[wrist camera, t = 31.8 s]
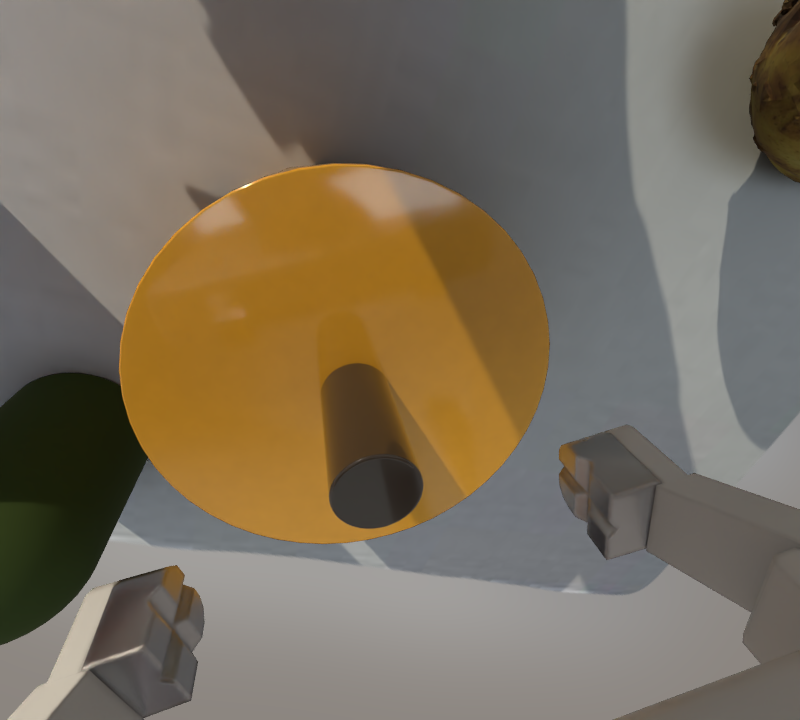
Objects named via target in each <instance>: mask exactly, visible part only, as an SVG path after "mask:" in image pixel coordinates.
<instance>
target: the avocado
mask: <svg viewBox="0 0 800 720" xmlns="http://www.w3.org/2000/svg"><path fill="white" fill-rule="evenodd" d="M147 458H148V456H147V455H146V453H145V452H144V450H143V449H142V447H141V445H140V443H139V441H138V439H137V437H136V435H135V433H134V431H133V428H132V426H131V424H130V422H129V418H128V415H127V411H126V408H125V405H124V401H123V398H122V390H121V386H120V385H118V384H116V383H114V382H112V381H110V380H107V379H104V378H101V377H97V376H93V375H88V374H81V373H62V374H55V375H49V376H45V377H42V378H39V379H37V380H35V381H32V382H30V383H29V384H27V385H26V386H24V387H23V388H22V389H21V390H19V391H18V392H17V393H16V394H15V395H14V396H13V397H11V398H10V399H9V400H8V401H7V402H6V403H5V404H4V405H3V406H1V407H0V645H2V644H5V643H8V642H10V641H12V640H15V639H17V638H19V637H21V636H24V635H26V634H28V633H29V632H31V631H33V630H35V629H36V628H38V627H39V626H41V625H43V624H44V623H46V622H47V621H49V620H50V619H51V618H53V617H54V616H55V615H56V614H58V613H59V612H60V611H61V610H63V608H65V607H66V606H67V605H68V604H69V603H70V602H71V601H72V600H73V599H74V598H75V597H76V596H77V595H78V593H79V592H80V591H81V589H82V588H83V586H84V585H85V584H86V583H87V581H88V580H89V578H90V577H91V575H92V573H93V571H94V570H95V568H96V566H97V564H98V561H99V559H100V557H101V555H102V553H103V551H104V549H105V547H106V545H107V542H108V540H109V538H110V536H111V534H112V532H113V530H114V528H115V526H116V524H117V521H118V519H119V517H120V515H121V513H122V511H123V509H124V507H125V505H126V503H127V500H128V498H129V496H130V494H131V492H132V490H133V488H134V486H135V484H136V482H137V479H138V477H139V475H140V473H141V471H142V469H143V467H144V465H145V463H146V460H147Z"/></svg>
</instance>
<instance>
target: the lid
mask: <svg viewBox="0 0 800 720" xmlns="http://www.w3.org/2000/svg"><path fill="white" fill-rule="evenodd" d="M549 346H550V342H549V328H548V319H547V314H546V310H545V305H544V300H543V296H542V294H541V291H540V288H539V286H538V283H537V280H536V278H535V275H534V273H533V271H532V269H531V267H530V266H529V264H528V262H527V260H526V259H525V257H524V255H523V253H522V251H521V250H520V249H519V248H518V246H517V245H516V244H515V242H514V241H513V240H512V239H511V237H510V236H509V235H508V233H507V232H506V231H505V230H504V229H503V228H502V227H501V226H500V225H499V224H498V223H497V222H496V221H495V220H494V219H493V218H492V217H490V216H489V215H488V214H487V213H486V212H485V211H484V210H483V209H481V208H480V207H478V206H477V205H475V204H474V203H473V202H471V201H470V200H468V199H467V198H465V197H464V196H462V195H461V194H459V193H457V192H455V191H453V190H451V189H449V188H447V187H445V186H443V185H441V184H439V183H437V182H435V181H433V180H430V179H427V178H424V177H421V176H418V175H415V174H412V173H408V172H405V171H402V170H399V169H394V168H388V167H382V166H376V165H370V164H353V163H329V164H320V165H312V166H303V167H297V168H293V169H290V170H286V171H282V172H278V173H275V174H271V175H267V176H264V177H262V178H260V179H257V180H255V181H253V182H250V183H248V184H246V185H243V186H241V187H239V188H236V189H234V190H232V191H231V192H229V193H228V194H226V195H224V196H223V197H221V198H220V199H218V200H216V201H215V202H213V203H211V204H210V205H208V206H207V207H205V208H204V209H202V210H201V211H200V212H199V213H198V214H196V215H195V216H194V217H193V218H192V219H191V220H189V221H188V222H187V223H186V224H185V225H184V226H182V227H181V228H180V229H179V230H178V231H177V232H176V233H175V234H174V235H173V236H172V237H171V238H170V240H169V241H168V242H167V243H166V244H165V245H164V247H163V248H162V249H161V250H160V251H159V252H158V254H157V255H156V256H155V257H154V259H153V260H152V262H151V264H150V265H149V267H148V269H147V270H146V272H145V274H144V275H143V277H142V278H141V280H140V282H139V283H138V285H137V288H136V290H135V293H134V295H133V298H132V300H131V303H130V305H129V308H128V310H127V313H126V317H125V322H124V327H123V331H122V336H121V340H120V358H119V374H120V382H121V390H122V398H123V401H124V405H125V408H126V411H127V415H128V418H129V422H130V424H131V426H132V428H133V431H134V433H135V435H136V437H137V439H138V441H139V443H140V445H141V447H142V449H143V450H144V452H145V453H146V455H147V456H148V458H149V459H150V461H151V462H152V464H153V465H154V467H155V468H156V469H157V470H158V471H159V472H160V473H161V474H162V476H163V477H164V478H165V479H166V480H167V481H168V482H169V483H170V484H171V486H173V487H174V488H175V489H176V490H177V491H178V492H180V493H181V494H182V495H183V496H184V497H185V498H187V499H188V500H189V501H190V502H192V503H193V504H195V505H196V506H198V507H199V508H201V509H202V510H204V511H205V512H207V513H208V514H210V515H212V516H214V517H216V518H218V519H220V520H222V521H224V522H226V523H228V524H230V525H232V526H235V527H237V528H240V529H243V530H245V531H248V532H251V533H254V534H257V535H261V536H265V537H269V538H273V539H277V540H284V541H291V542H298V543H315V544H332V543H348V542H356V541H363V540H369V539H374V538H378V537H382V536H386V535H390V534H394V533H397V532H400V531H403V530H405V529H408V528H411V527H414V526H416V525H418V524H421V523H423V522H425V521H428V520H430V519H432V518H434V517H436V516H438V515H439V514H441V513H443V512H445V511H447V510H448V509H450V508H452V507H453V506H455V505H456V504H458V503H459V502H461V501H462V500H464V499H465V498H466V497H468V496H469V495H471V494H472V493H473V492H474V491H475V490H477V489H478V488H479V487H480V486H481V485H483V484H484V483H485V482H486V481H487V480H488V479H489V478H490V477H491V476H492V475H493V474H494V473H495V472H496V471H497V470H498V469H499V468H500V467H501V466H502V465H503V463H504V462H505V461H506V460H507V458H508V457H509V456H510V455H511V453H512V452H513V451H514V450H515V448H516V447H517V445H518V443H519V442H520V440H521V439H522V437H523V435H524V434H525V432H526V431H527V429H528V427H529V425H530V423H531V421H532V418H533V416H534V414H535V412H536V410H537V407H538V404H539V401H540V398H541V395H542V392H543V389H544V385H545V380H546V375H547V370H548V361H549Z"/></svg>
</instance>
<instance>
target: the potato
mask: <svg viewBox="0 0 800 720" xmlns="http://www.w3.org/2000/svg"><path fill="white" fill-rule="evenodd" d="M772 24H773V26H775V25H776V28H775V30H774V31H773V33H772V35H771V36H770V38H769V39H768V41H767V42H766V45H765V48H764V50H763V51H762V53H761V55H760V58H759V59H758V60H757V61H756V62H755V65H754V67H753V72H752V75H751V76H750V78H749V79H750V81H751V83H752V87H751V100H750V106H749V113H750V117H751V125H752V127H753V130H754V137H753V139H754V142H755V144H756V145H757V147H758V149H760V150H761V151H762V152H764V153H765V154H766V155H767V157H768V158H769V160H770V162H771V163H772V164H773V165H774V166H775V167H776V168H777V169H778V170H779V171H780V172H781V173H782V174H784V175H785V176H787V177H788V178H790V179H792V180H793V181H795V182H799V183H800V0H785V1H784V2H783V6H782V10H781V11H780V12H779V13H778V14H777V16H776V17H775V18H774V20H773V23H772Z"/></svg>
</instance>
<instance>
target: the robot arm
mask: <svg viewBox="0 0 800 720" xmlns="http://www.w3.org/2000/svg"><path fill="white" fill-rule="evenodd" d="M559 460H560V461H561V462H562V463H563V465H564V468H563V469H562V470H561V472H560V473H559V483H560V488H561V491H562V495H563V498H564V500H565V501H566V503H567V505H568V507H569V509H570V510H571V511H572V513H573V514H574V516H575V517H577V518H579V519H581V520H584V521H586V522H588V525H587V534H588V535H589V537H590V538H591V539H592V541H593V542H594V543H595V545H596V546H597V547H598V549H599V550H600V552H601V553H602V554H603V556H604V557H605V558H606V560H609V559H613V558H616V557H619V556H623V555H626V554H629V553H632V552H636V551H639V550H642V549H645V548H647V549H646V551H648V552H649V553H651V554H653V555H655V556H656V557H658V558H660V559H661V560H663V561H665V562H666V563H668V564H670V565H672V566H673V567H675V568H677V569H678V570H680V571H682V572H683V573H685V574H687V575H688V576H690V577H692V578H694V579H695V580H697V581H699V582H700V583H702V584H704V585H706V586H707V587H709V588H710V589H712V590H714V591H716V592H717V593H719V594H721V595H722V596H724V597H726V598H727V599H729V600H731V601H732V602H734V603H736V604H738V605H739V606H741V607H743V608H744V609H746V610H748V611H750V612H751V615H750V617H749V620H748V622H747V625H746V628H745V630H744V633H743V644H744V645H745V646H746V647H747V648H748V649H749V651H750V652H751V653H752V654H753V655H754V657H755V658H756V659H757V660H758V661H759V662H760V663H761V664H760V665H758V666H755V667H752V668H750V669H747V670H744V671H741V672H739V673H736V674H734V675H731V676H728V677H726V678H723V679H720V680H718V681H715V682H712V683H709V684H707V685H704V686H702V687H699V688H696V689H694V690H691V691H688V692H686V693H683V694H680V695H677V696H675V697H672V698H670V699H667V700H664V701H661V702H659V703H656V704H654V705H651V706H648V707H645V708H643V709H640V710H638V711H635V712H632V713H629V714H627V715H624V716H622V717H619V718H616V719H613V720H800V509H797V508H794V507H791V506H788V505H785V504H782V503H780V502H776V501H774V500H771V499H768V498H765V497H762V496H759V495H756V494H754V493H751V492H748V491H745V490H742V489H739V488H736V487H733V486H730V485H728V484H725V483H722V482H719V481H716V480H713V479H710V478H707V477H705V476H702V475H699V474H696V473H693V474H690V475H687V474H686V473H685V472H684V471H683V470H682V469H680V468H679V467H678V466H677V465H676V464H675V463H674V462H672V461H671V460H670V459H669V458H668V457H667V456H666V455H664V454H663V453H662V452H661V451H660V450H659V449H658V448H657V447H655V446H654V445H653V444H652V443H651V442H650V441H649V440H647V439H646V438H645V437H644V436H643V435H642V434H641V433H639V432H638V431H637V430H636V429H635V428H634V427H632V426H630V425H624V426H621V427H617V428H614V429H611V430H608V431H605V432H601V433H598V434H595V435H592V436H589V437H585V438H582V439H579V440H576V441H573V442H570V443H567V444H564V445H561V447H560V449H559ZM184 576H185V575H184V574H183V572H182V571H181V570H180V569H179V567H178V566H177V565H175V566H169V567H165V568H162V569H158V570H155V571H151V572H148V573H144V574H140V575H137V576H133V577H130V578H126V579H123V580H119V581H117V582H114V583H110V584H106V585H103V586H99V587H96V588H93V589H92V590H91V591H90V592H89V593H88V594H87V595H86V596H85V598H84V600H83V602H82V604H81V607H80V609H79V611H78V613H77V616H76V618H75V620H74V623H73V625H72V627H71V629H70V632H69V634H68V636H67V639H66V641H65V643H64V646H63V648H62V650H61V652H60V654H59V657H58V659H57V661H56V664H55V666H54V668H53V671H52V673H51V675H50V677H49V680H48V682H47V683H45V684H42V685H39V686H38V687H37V688H36V689H35V690H34V691H33V692H32V693H31V694H30V695H29V696H28V697H27V698H26V700H25V701H24V702H23V703H22V704H21V705H20V706H19V707H18V708H17V710H16V711H15V712H14V713H13V714H12V715H11V716H10V717H9V718H8V719H7V720H144V719H143V718H145V717H148V716H150V715H153V714H156V713H159V712H161V711H164V710H167V709H170V708H172V707H175V706H178V705H180V704H183V703H186V702H189V701H191V698H192V692H193V687H194V681H195V676H196V670H197V664H198V661H197V660H196V658H195V656H194V655H193V653H192V651H193V650H194V648H195V647H196V646H197V644H198V643H199V641H200V640H201V638H202V635H203V628H204V609H203V604H202V601H201V598H200V596H199V594H198V593H197V591H196V590H195V589H194V588H192V587H189V586H186V585H183V581H184Z"/></svg>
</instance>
